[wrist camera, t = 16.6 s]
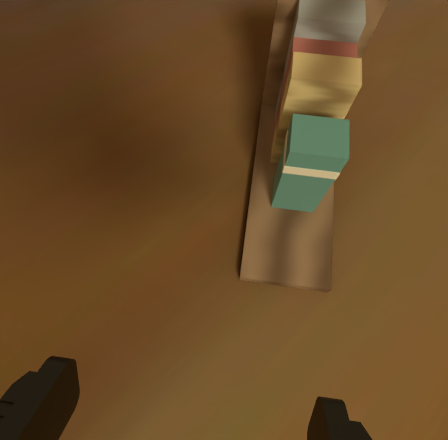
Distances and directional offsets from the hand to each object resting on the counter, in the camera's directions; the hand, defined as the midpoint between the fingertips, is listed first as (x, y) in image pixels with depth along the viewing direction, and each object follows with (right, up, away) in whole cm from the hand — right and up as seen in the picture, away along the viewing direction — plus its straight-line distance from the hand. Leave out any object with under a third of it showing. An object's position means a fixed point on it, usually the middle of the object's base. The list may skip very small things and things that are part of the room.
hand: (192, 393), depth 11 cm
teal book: (+9, +9, +29) cm, 32 cm away
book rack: (+9, +9, +31) cm, 33 cm away
